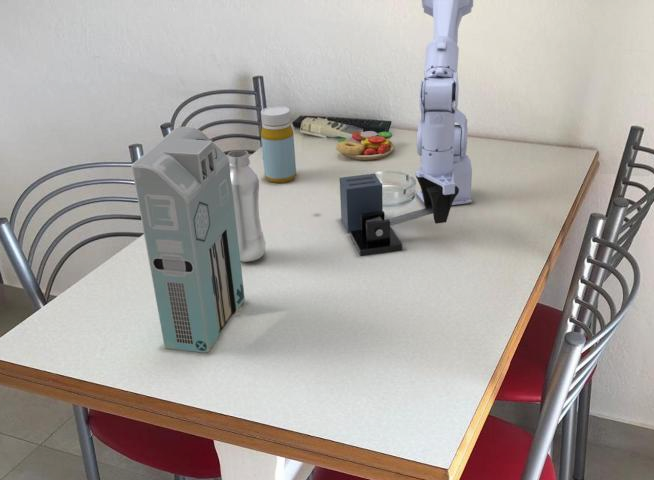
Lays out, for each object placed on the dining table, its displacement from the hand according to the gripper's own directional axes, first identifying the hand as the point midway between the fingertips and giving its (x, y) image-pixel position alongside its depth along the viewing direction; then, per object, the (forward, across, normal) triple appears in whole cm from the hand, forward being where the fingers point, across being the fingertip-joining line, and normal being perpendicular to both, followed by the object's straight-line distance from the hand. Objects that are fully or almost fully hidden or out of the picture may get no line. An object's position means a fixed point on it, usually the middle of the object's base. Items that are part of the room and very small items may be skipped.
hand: (435, 216), depth 163 cm
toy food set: (+4, -48, -2) cm, 48 cm away
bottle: (+4, -38, -24) cm, 45 cm away
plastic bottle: (+4, -1, -36) cm, 36 cm away
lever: (+1, 0, -6) cm, 6 cm away
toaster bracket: (+4, 0, -12) cm, 12 cm away
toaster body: (+4, -9, -12) cm, 16 cm away
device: (+4, +21, -46) cm, 51 cm away
